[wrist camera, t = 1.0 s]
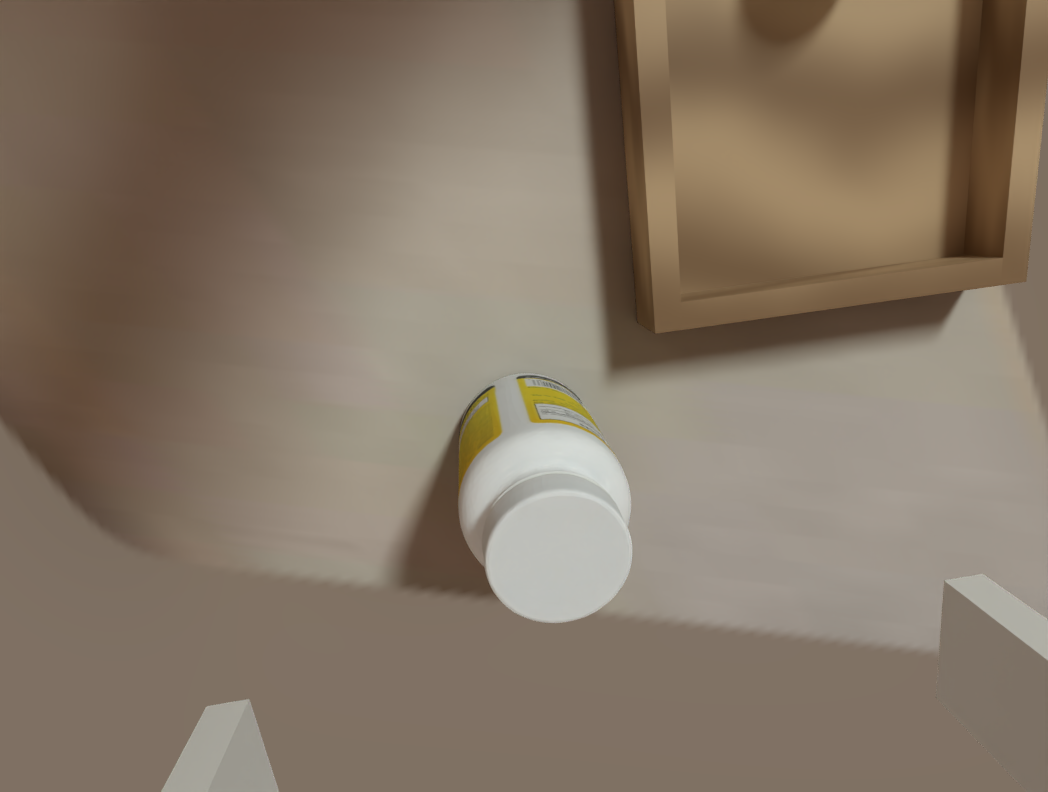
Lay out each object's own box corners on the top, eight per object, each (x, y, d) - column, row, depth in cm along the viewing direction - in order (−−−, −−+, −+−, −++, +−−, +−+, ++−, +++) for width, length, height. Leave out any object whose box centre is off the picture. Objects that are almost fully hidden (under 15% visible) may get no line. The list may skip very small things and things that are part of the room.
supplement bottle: (481, 509, 27) (488, 670, 17) (442, 392, 25) (425, 498, 16) (603, 473, 27) (677, 614, 17) (571, 354, 25) (633, 436, 16)
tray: (601, -163, 20) (619, -213, 18) (1012, -205, 21) (1083, -260, 19) (637, 322, 25) (655, 333, 22) (973, 275, 26) (1026, 281, 23)
